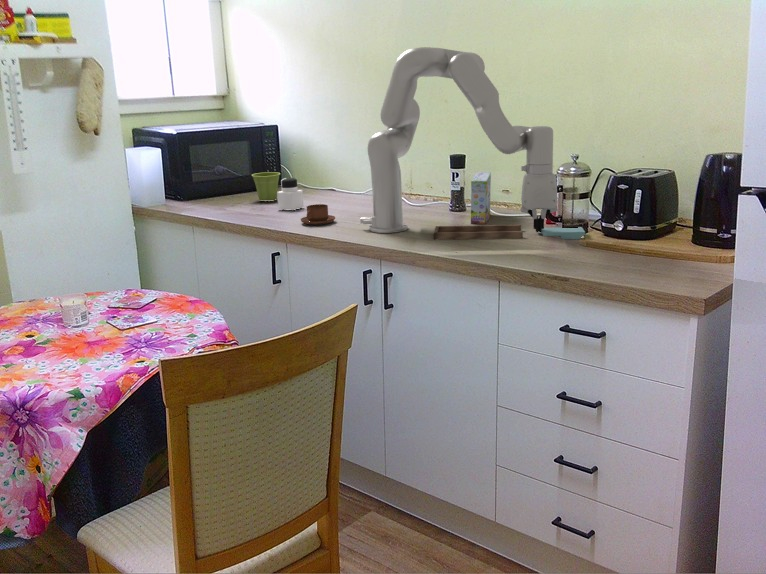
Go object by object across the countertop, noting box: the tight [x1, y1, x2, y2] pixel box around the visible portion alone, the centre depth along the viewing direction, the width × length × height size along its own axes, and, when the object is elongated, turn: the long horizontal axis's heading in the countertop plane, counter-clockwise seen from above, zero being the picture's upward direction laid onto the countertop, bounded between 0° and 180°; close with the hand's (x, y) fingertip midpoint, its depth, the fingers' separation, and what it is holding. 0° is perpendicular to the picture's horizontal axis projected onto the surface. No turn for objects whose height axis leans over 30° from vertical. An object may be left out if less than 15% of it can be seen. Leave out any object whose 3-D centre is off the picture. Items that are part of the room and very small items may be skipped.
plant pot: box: [251, 171, 281, 200], centre depth 309 cm, size 12×12×11 cm
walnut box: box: [433, 224, 524, 240], centre depth 225 cm, size 26×10×3 cm, turn 83°
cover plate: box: [541, 226, 586, 240], centre depth 222 cm, size 12×7×2 cm, turn 83°
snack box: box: [470, 172, 492, 225], centre depth 249 cm, size 21×6×15 cm, turn 168°
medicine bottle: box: [277, 177, 305, 210], centre depth 287 cm, size 7×7×12 cm
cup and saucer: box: [300, 203, 336, 226], centre depth 258 cm, size 12×12×6 cm
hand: (538, 231), depth 222 cm, fingers closed
